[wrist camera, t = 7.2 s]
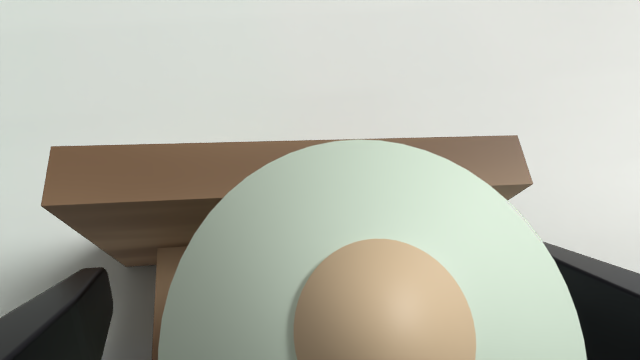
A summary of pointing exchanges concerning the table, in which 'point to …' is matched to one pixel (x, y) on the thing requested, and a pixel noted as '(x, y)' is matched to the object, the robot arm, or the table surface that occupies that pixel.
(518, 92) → the table surface
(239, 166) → the holder
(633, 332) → the robot arm
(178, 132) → the table surface
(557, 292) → the pale green tapered cylinder
